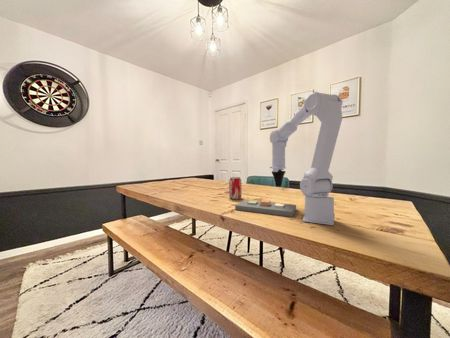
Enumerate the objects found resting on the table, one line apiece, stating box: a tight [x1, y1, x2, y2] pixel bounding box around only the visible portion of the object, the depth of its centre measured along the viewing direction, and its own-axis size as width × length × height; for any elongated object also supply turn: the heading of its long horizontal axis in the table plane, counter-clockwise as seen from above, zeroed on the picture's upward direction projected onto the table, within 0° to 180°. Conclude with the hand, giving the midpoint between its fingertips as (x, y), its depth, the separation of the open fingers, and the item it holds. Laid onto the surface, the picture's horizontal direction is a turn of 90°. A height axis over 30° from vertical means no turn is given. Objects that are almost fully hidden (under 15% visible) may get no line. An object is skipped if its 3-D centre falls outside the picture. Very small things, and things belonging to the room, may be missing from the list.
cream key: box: [274, 202, 286, 208], centre depth 78 cm, size 4×4×2 cm
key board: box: [234, 199, 297, 218], centre depth 81 cm, size 24×12×2 cm, turn 62°
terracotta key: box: [259, 199, 271, 207], centre depth 81 cm, size 4×4×2 cm
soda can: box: [228, 176, 243, 200], centre depth 105 cm, size 7×7×12 cm
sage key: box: [247, 200, 259, 205], centre depth 84 cm, size 4×4×2 cm
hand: (278, 186), depth 86 cm, fingers closed
